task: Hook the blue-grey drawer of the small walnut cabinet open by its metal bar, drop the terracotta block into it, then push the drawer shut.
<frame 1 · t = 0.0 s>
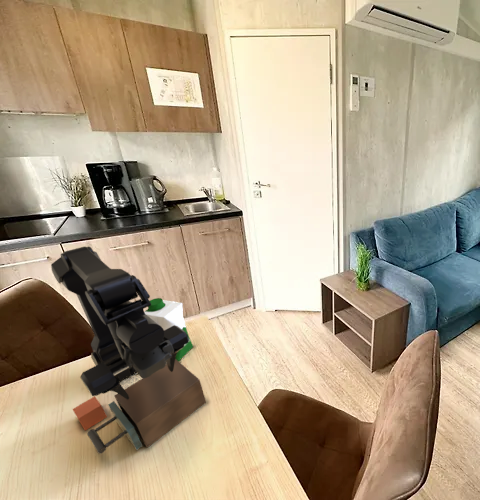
hand: (150, 383, 66), 15 cm above the table, tool pointing down, fingers open, 9 cm apart
cabinet: (166, 410, 75), on the table
block: (93, 418, 73), on the table
drawer: (141, 413, 70), point 4 cm above the table, slide at 0.5 cm
milk carton: (177, 353, 94), on the table
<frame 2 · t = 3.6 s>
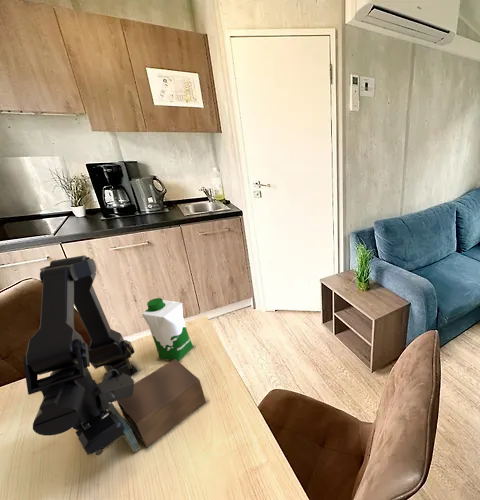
hand: (103, 439, 64), 4 cm above the table, tool pointing down, fingers closed
drawer: (139, 415, 70), point 4 cm above the table, slide at 1.0 cm, touching gripper
everything else where it was.
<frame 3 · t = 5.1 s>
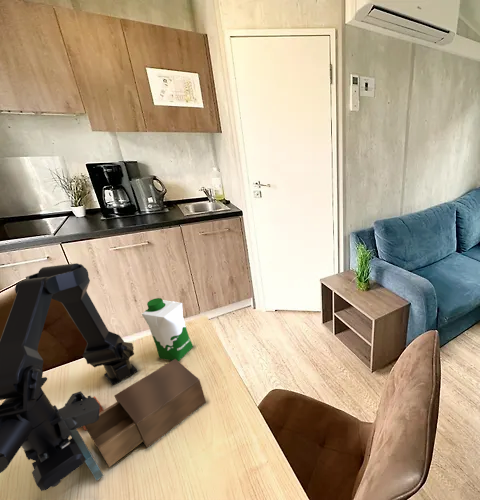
hand: (66, 468, 59), 4 cm above the table, tool pointing down, fingers closed, pressing on drawer
drawer: (104, 438, 64), point 4 cm above the table, slide at 8.0 cm, touching gripper
everything else where it was.
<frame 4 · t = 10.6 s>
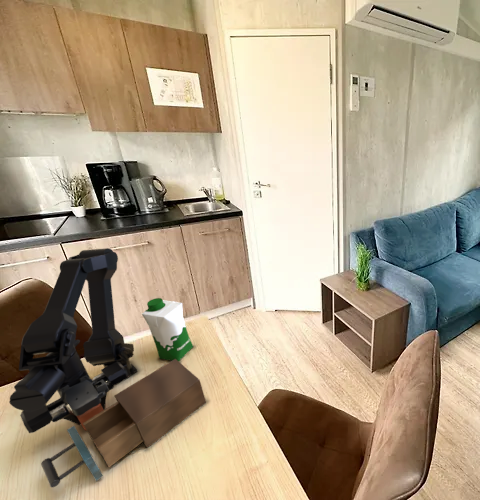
hand: (91, 416, 73), 1 cm above the table, tool pointing down, fingers closed on block, 4 cm apart
block: (93, 418, 73), on the table, touching gripper
drawer: (104, 438, 64), point 4 cm above the table, slide at 8.0 cm
everything else where it was.
when the fingers open (7 cm above the table, at t = 14.8 s): block drops 4 cm, resting on drawer.
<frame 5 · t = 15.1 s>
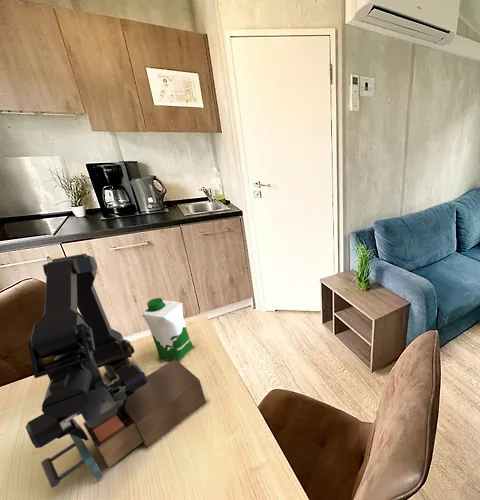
hand: (105, 427, 64), 7 cm above the table, tool pointing down, fingers open, 6 cm apart
block: (115, 440, 66), point 2 cm above the table, touching drawer
drawer: (104, 438, 64), point 4 cm above the table, slide at 8.0 cm, touching block
everything else where it was.
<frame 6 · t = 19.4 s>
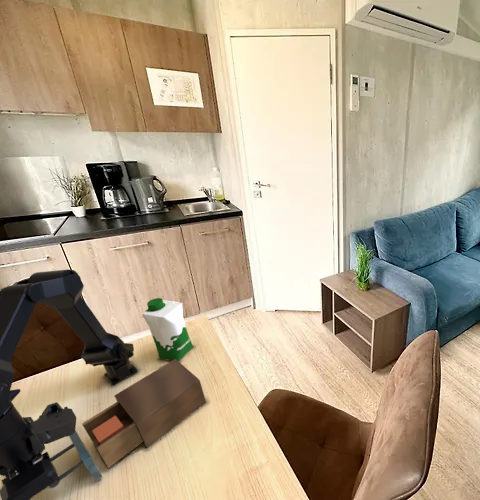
hand: (40, 483, 57), 4 cm above the table, tool pointing down, fingers closed, pressing on drawer
drawer: (103, 439, 64), point 4 cm above the table, slide at 8.2 cm, touching block, gripper
everything else where it was.
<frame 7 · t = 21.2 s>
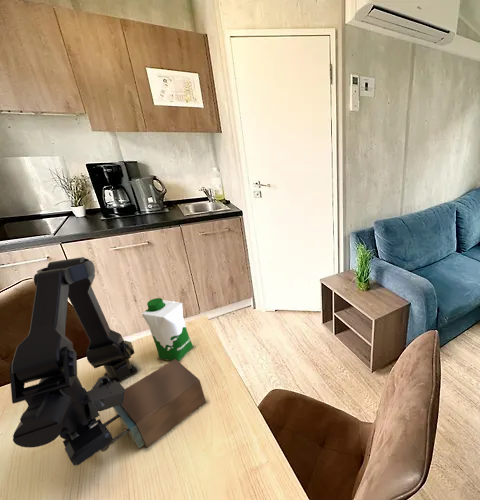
hand: (91, 448, 63), 4 cm above the table, tool pointing down, fingers closed, pressing on drawer
block: (152, 413, 72), point 2 cm above the table, touching drawer
drawer: (143, 411, 70), point 4 cm above the table, slide at 0.0 cm, touching block, cabinet, gripper
everything else where it was.
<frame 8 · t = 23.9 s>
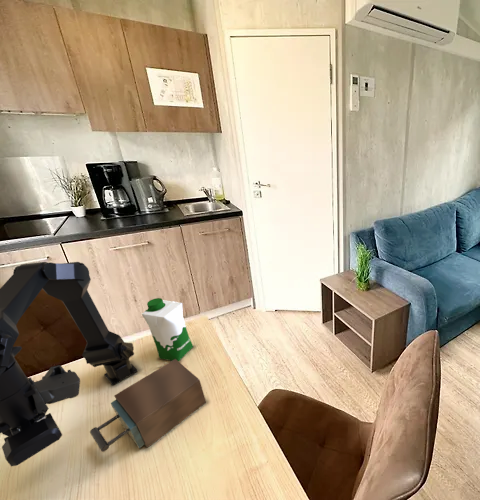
hand: (43, 446, 55), 12 cm above the table, tool pointing down, fingers closed
drawer: (143, 411, 70), point 4 cm above the table, slide at 0.0 cm, touching block, cabinet
everything else where it was.
at the end: drawer pulled out 8.2 cm at the most during the clip, back to where it started at the end; block inside the target area in the cabinet (2.2 cm from its centre), point 2.0 cm above the cabinet's base; drawer slide at 0.0 cm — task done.
